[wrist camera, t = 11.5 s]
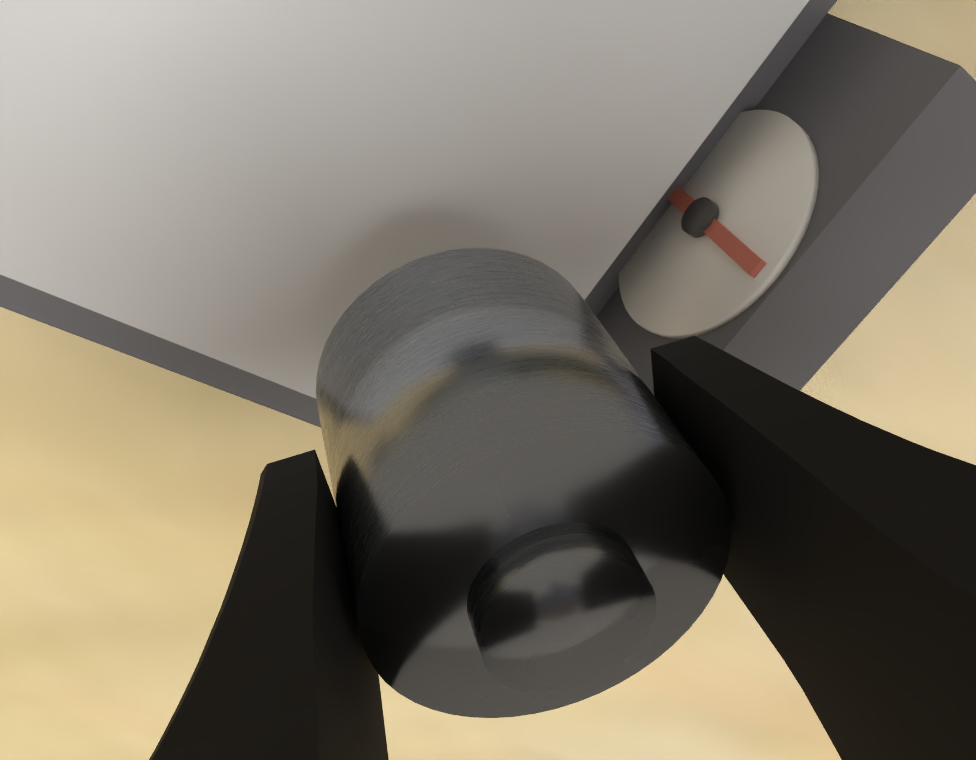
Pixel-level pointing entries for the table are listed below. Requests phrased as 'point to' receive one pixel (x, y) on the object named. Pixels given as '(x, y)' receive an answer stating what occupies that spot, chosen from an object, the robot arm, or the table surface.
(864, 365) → the table surface
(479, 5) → the scale
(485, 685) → the cylinder
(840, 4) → the table surface
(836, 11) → the table surface
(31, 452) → the table surface
